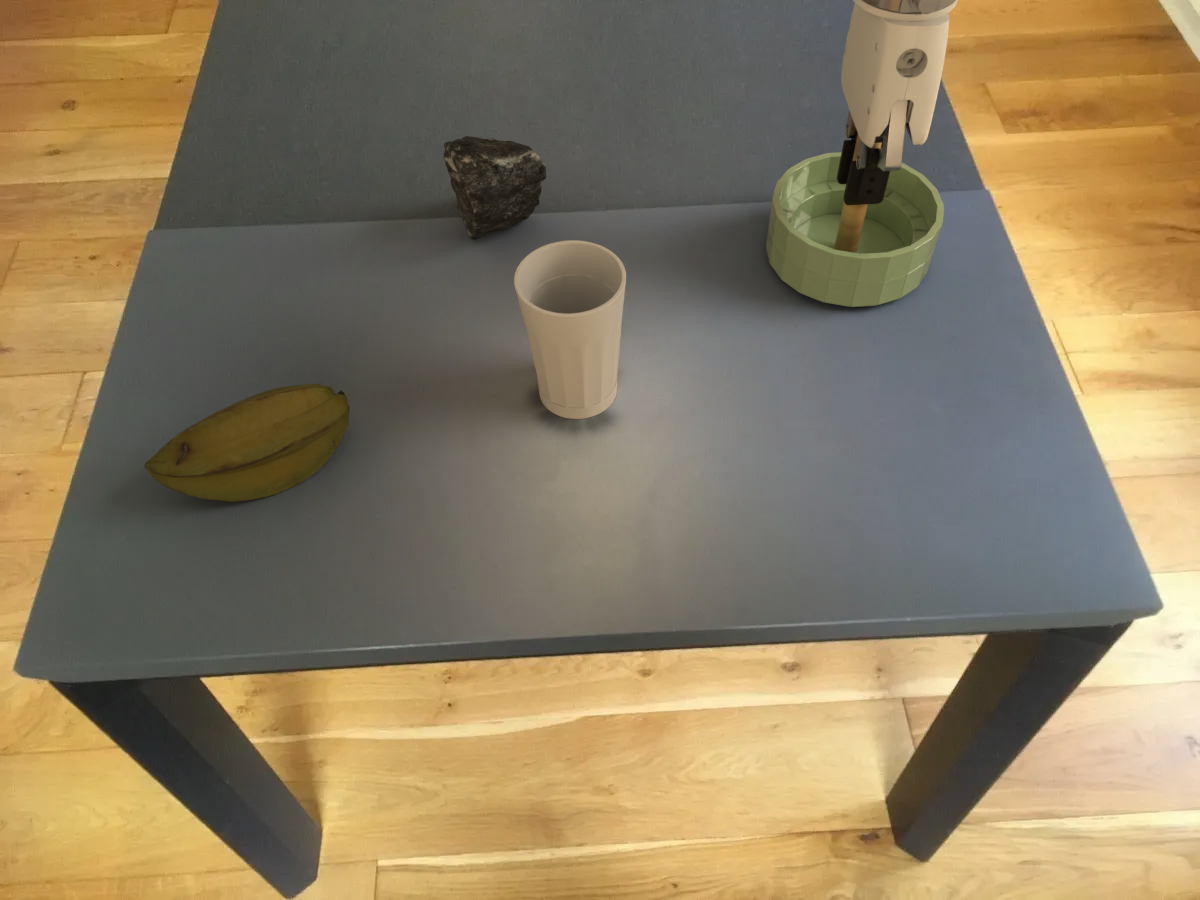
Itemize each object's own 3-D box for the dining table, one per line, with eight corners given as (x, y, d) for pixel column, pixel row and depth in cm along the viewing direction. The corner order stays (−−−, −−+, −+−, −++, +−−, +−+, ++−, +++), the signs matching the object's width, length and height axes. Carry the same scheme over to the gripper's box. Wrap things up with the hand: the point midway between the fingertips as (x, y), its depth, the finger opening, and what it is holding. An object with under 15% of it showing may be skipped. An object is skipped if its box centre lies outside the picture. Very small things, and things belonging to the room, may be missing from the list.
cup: (645, 376, 79) (647, 263, 70) (592, 442, 75) (586, 331, 66) (564, 340, 82) (555, 227, 72) (509, 401, 78) (491, 290, 68)
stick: (854, 242, 88) (880, 126, 78) (858, 257, 86) (886, 140, 77) (831, 244, 88) (855, 127, 78) (836, 258, 86) (860, 142, 77)
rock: (489, 262, 88) (475, 170, 80) (441, 225, 92) (423, 133, 84) (554, 223, 91) (547, 130, 83) (506, 189, 95) (494, 96, 87)
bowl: (931, 218, 90) (948, 163, 85) (921, 324, 82) (938, 269, 77) (779, 196, 93) (786, 142, 88) (753, 296, 84) (760, 242, 80)
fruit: (306, 540, 70) (280, 487, 65) (161, 506, 73) (124, 452, 67) (371, 422, 77) (351, 365, 72) (236, 394, 79) (207, 337, 74)
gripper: (995, 31, 62) (927, 252, 77) (932, -82, 72) (881, 133, 87) (879, 37, 62) (832, 257, 77) (831, -77, 72) (798, 138, 87)
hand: (859, 190), depth 82 cm, fingers closed on stick, 2 cm apart
